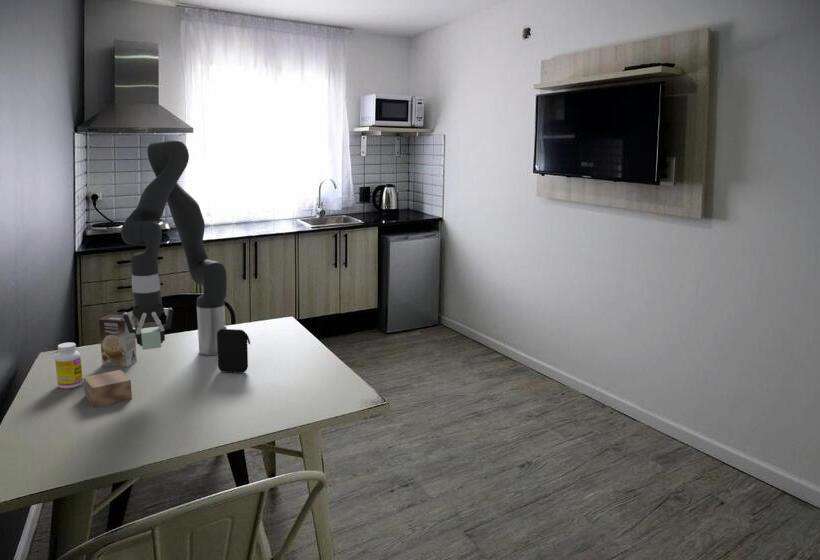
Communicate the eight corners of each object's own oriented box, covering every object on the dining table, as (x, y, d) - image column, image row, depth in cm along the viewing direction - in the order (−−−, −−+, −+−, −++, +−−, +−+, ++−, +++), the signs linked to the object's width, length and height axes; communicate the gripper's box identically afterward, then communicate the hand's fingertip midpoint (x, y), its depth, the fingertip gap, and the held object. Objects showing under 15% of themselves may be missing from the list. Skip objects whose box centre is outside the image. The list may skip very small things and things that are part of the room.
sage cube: (159, 342, 178) (158, 326, 177) (161, 347, 174) (160, 331, 173) (141, 344, 176) (140, 328, 175) (142, 349, 172) (141, 333, 170)
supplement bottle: (77, 389, 175) (73, 348, 172) (54, 389, 174) (49, 348, 171) (86, 380, 182) (82, 341, 179) (63, 381, 181) (59, 341, 178)
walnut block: (122, 388, 177) (120, 369, 176) (132, 399, 170) (130, 379, 169) (85, 396, 171) (83, 377, 170) (94, 408, 164) (92, 388, 162)
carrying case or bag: (252, 371, 193) (251, 328, 190) (249, 374, 190) (248, 331, 187) (220, 370, 193) (218, 327, 190) (217, 373, 190) (215, 330, 187)
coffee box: (101, 365, 194) (96, 319, 190) (112, 359, 200) (108, 313, 196) (127, 367, 193) (123, 320, 189) (138, 360, 199) (134, 315, 196)
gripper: (171, 283, 177) (174, 336, 181) (118, 288, 171) (123, 343, 175) (174, 289, 171) (178, 344, 175) (119, 294, 164) (125, 351, 168)
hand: (151, 343), depth 175 cm, fingers closed on sage cube, 5 cm apart
